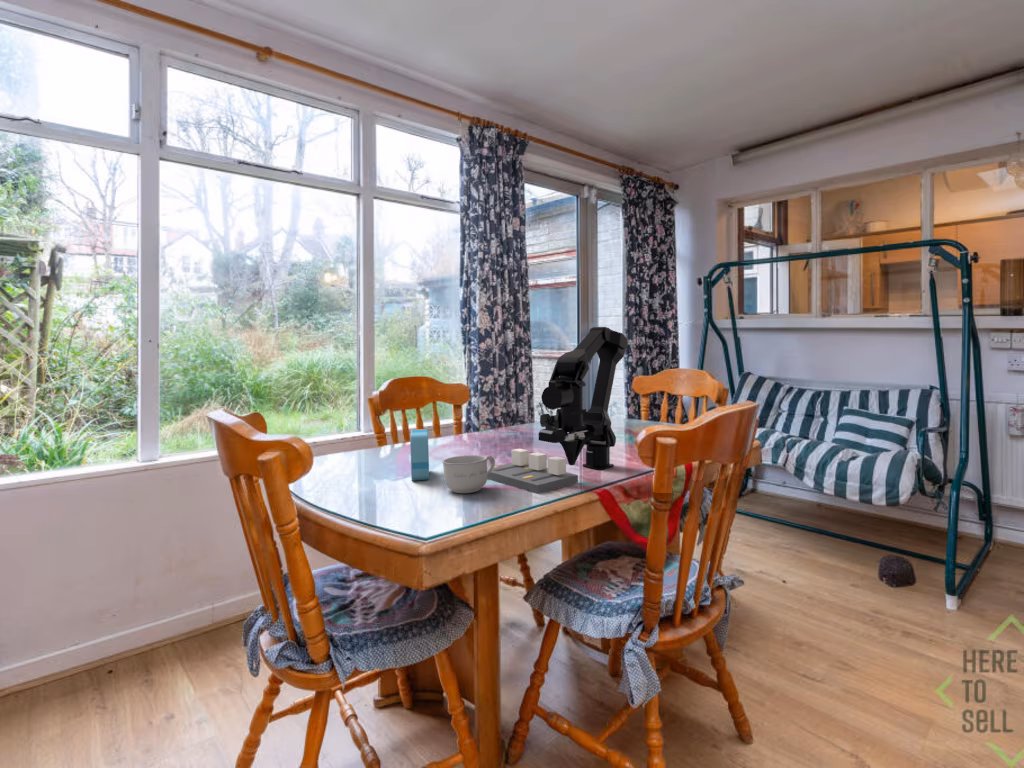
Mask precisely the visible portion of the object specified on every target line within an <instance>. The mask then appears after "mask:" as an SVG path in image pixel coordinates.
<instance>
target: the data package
mask: <svg viewBox="0 0 1024 768" xmlns="http://www.w3.org/2000/svg"><path fill="white" fill-rule="evenodd" d="M409 442H410V445H409V446H410V469H411V470H410V471H411V472H410V476H411V481H413V482H415V481H416V482H417V481H429V480H430V461H429V460H430V458H429V457H430V455H429V454H430V453H429V429H428V428H420V429H419V428H417V429H416V428H414V429H410V438H409Z"/></svg>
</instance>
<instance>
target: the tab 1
mask: <svg viewBox="0 0 1024 768" xmlns="http://www.w3.org/2000/svg"><path fill="white" fill-rule="evenodd" d="M510 452H511V454H510V455H511V456H510V457H511V459H510V460H511V461H510V463H512V464H514V465H518V466H523V465H527V464H529V450H528V449H524V448H516V449H511V451H510Z"/></svg>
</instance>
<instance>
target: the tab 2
mask: <svg viewBox="0 0 1024 768" xmlns="http://www.w3.org/2000/svg"><path fill="white" fill-rule="evenodd" d="M547 468H548V473H550V474H554V475H561V474H565V473H566V472H567V457H566V458H565V457H561V456H556V455H555V456H550V457H547Z"/></svg>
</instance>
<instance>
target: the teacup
mask: <svg viewBox="0 0 1024 768" xmlns="http://www.w3.org/2000/svg"><path fill="white" fill-rule="evenodd" d="M488 460H489V465H488V464H487V461H488ZM442 464H443V465H442V466H443V468H442V469H443V476H444V477H443V478H444V483H445V486H446V488H448V489H450V490H451V491H452V492H454V493H456V494H471V493H476V492H479V491H480V490H482V488H483V487H484V486H485V485H486V484H487V481H488V479H487V475H488V474H489V473H490V472H491V471H492V470H493V468H494V466H496V461H495V458H494V457H493V456H492V455H490V454H489V455H487V454H486V455H477V454H475V455H474V454H467V455H465V454H464V455H458V456H457V455H455V456H452V457H447V458H445V459H443V460H442ZM487 468H488V469H487Z"/></svg>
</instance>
